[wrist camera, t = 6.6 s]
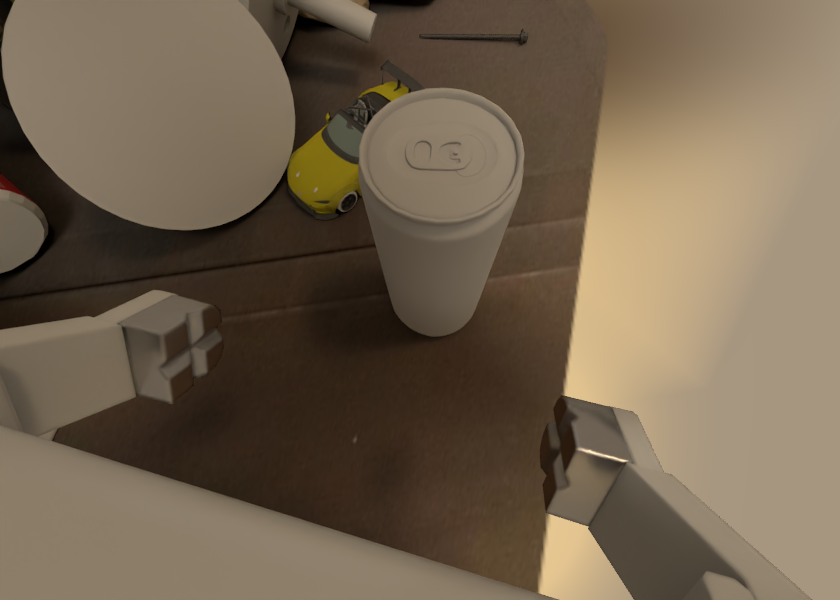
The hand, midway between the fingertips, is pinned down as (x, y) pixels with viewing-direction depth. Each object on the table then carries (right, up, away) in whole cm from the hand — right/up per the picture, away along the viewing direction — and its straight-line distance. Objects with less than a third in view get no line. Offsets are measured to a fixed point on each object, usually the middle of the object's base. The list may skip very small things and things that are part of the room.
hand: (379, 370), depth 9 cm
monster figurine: (-11, +11, +10) cm, 18 cm away
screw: (+5, +21, +19) cm, 29 cm away
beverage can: (+2, +2, +13) cm, 13 cm away
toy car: (-3, +11, +16) cm, 20 cm away
